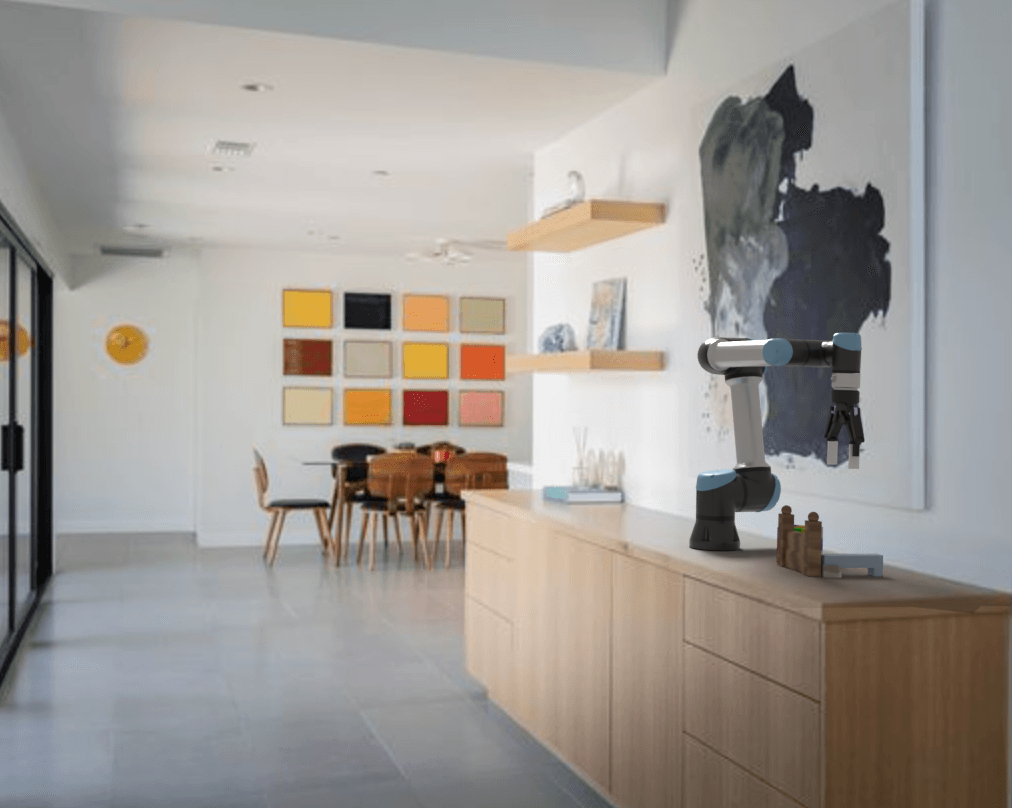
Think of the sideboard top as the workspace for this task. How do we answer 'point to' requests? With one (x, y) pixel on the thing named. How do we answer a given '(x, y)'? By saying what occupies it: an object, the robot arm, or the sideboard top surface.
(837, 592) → the sideboard top surface
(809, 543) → the headboard
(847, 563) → the rail
